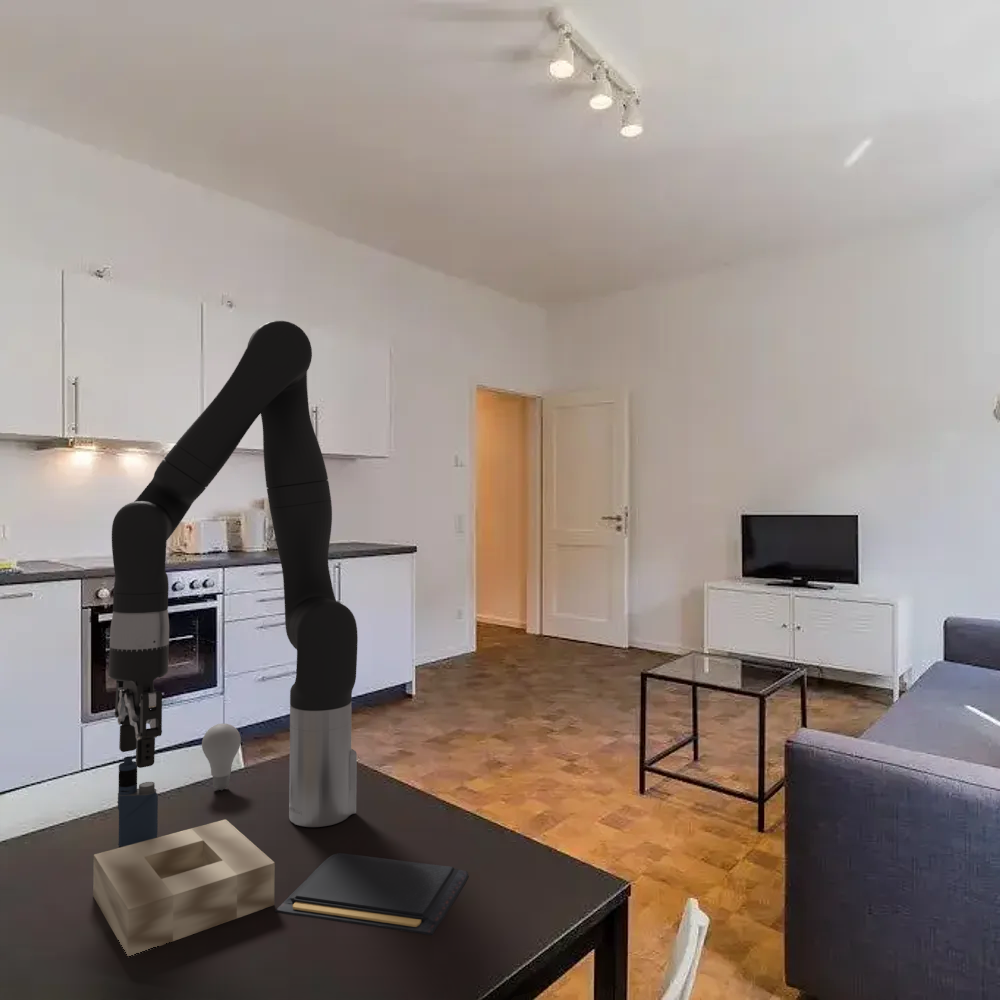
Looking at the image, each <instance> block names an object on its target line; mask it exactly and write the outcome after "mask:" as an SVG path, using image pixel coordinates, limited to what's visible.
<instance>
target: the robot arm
mask: <svg viewBox="0 0 1000 1000" xmlns="http://www.w3.org/2000/svg"><path fill="white" fill-rule="evenodd" d="M311 345H312V344H311V340H310V339H309V336H308V335H307V334H306V332H305V331H304V330H303V328H301V327H300V326H299V325H297V324H295V323H292V322H289V321H286V320H273V321H269V322H267V323H263V324H262V325H260V326H258V328H256V329H255V330H254V331H253V333H252V334H251V336H250V338H249V340H248V342H247V345H246V348H245V350H244V353H243V354H242V356H241V358H240V360H239V361H238V363H237V365H236V366H235V368H234V370H233V372H232V374H231V375H230V377H229V378H228V380H227V381H226V382H225V384H224V385H223V387H222V388H221V389H220V391H219V392H218V393H217V395H216V396H215V397H214V398H213V400H212V401H211V402H210V403H209V405H208V406H207V407H206V408H205V409H204V410H203V412H202V413H200V415H199V416H198V417H197V419H195V421H194V422H193V423H191V425H190V426H189V428H187V430H186V431H185V432H184V434H182V436H181V437H179V439H178V440H177V442H176V443H175V444H174V445H173V446H172V448H171V449H170V450H169V451H168V453H167V454H166V455H165V457H164V458H163V459H162V460H161V462H160V463H159V464H158V466H157V467H156V469H155V471H154V474H153V478H152V479H151V481H149V482H148V485H147V486H145V487H144V489H143V491H142V492H141V493H140V494H139V496H137V498H136V499H135V500H134V501H132V502H129V503H127V504H125V505H123V506H122V507H121V508H120V509H118V511H117V513H116V514H115V516H114V518H113V521H112V526H111V553H112V563H113V568H114V585H113V593H112V594H113V597H112V598H113V600H112V617H111V622H110V632H109V635H110V636H109V658H108V661H109V662H108V665H109V666H108V676H109V678H110V679H112V680H114V681H115V683H116V685H115V703H114V705H115V707H114V716H115V718H117V723H118V725H119V744H118V745H119V751H121V752H122V753H125V752H133V751H135V762H136V766H137V769H142V768H146V767H152V766H153V765H154V764H155V754H156V753H155V751H156V750H155V749H156V748H155V747H156V738H157V737H161V736H162V734H163V729H162V727H163V725H162V722H163V718H162V717H163V693H162V690H158V691H157V689H155V686H154V685H155V684H154V681H155V680H156V679H158V678H161V677H164V676H165V675H167V674H168V672H169V654H170V653H169V649H170V646H169V644H170V618H169V610H168V609H169V587H170V586H169V577H168V574H167V571H166V563H167V561H166V559H167V558H166V557H167V541H168V539H169V538H171V535H172V534H173V533H174V532H175V530H176V529H177V528H178V526H179V525H180V524H181V522H182V520H183V519H184V517H185V516H186V514H187V513H188V511H189V510H190V508H191V506H192V505H193V504H194V502H195V501H196V500H197V499H198V498H199V497H200V496H201V495H202V494H203V493H204V492H205V490H206V489H207V487H209V485H210V484H211V483H212V481H213V480H214V479H215V478H216V476H217V475H218V473H220V471H221V470H222V468H223V467H224V466H225V464H226V463H227V462H228V460H229V459H230V457H231V456H232V455H233V453H234V452H235V450H236V448H237V447H238V445H239V444H240V443H241V441H242V439H243V438H244V437H245V435H246V434H247V433H248V431H249V429H250V428H251V426H253V424H254V422H255V421H256V420H257V418H258V417H259V416H261V423H262V424H261V425H262V443H263V444H262V445H263V447H262V449H263V450H262V451H263V466H264V476H265V487H266V492H267V493H266V494H267V498H268V505H269V512H270V517H271V521H272V522H271V523H272V526H273V534H274V537H275V543H276V548H277V552H278V555H279V561H280V565H281V571H282V572H281V573H282V577H283V578H282V579H283V580H282V582H283V596H284V597H283V598H284V624H285V633H286V636H287V639H288V640H289V642H290V644H291V645H292V646H293V649H295V650H296V672H295V676H296V677H295V681H294V683H293V684H292V685H291V688H290V690H289V693H290V694H289V781H288V782H289V788H288V790H289V792H288V793H289V794H288V795H289V796H288V797H289V798H288V799H289V800H288V808H289V809H288V811H289V812H288V818H289V821H290V822H291V823H292V824H294V825H295V826H296V825H297V826H300V827H306V828H320V827H321V828H322V827H327V826H328V827H329V826H332V825H336V824H339V823H342V822H344V821H345V820H347V819H348V818H349V817H350V816H351V815H354V814H356V813H357V767H358V766H357V763H358V762H357V755H358V754H357V751H356V750H355V749H352V703H353V702H352V698H353V695H352V693H353V689H354V686H355V683H356V678H357V662H358V626H357V621H356V617H355V616H354V613H353V611H352V610H351V609H350V608H348V607H347V606H346V605H344V604H343V603H342V602H339V601H337V599H336V596H335V593H334V588H333V584H332V579H331V573H330V567H329V565H330V564H329V552H330V551H329V550H330V540H331V535H332V533H331V532H332V524H333V523H332V522H333V507H332V505H333V504H332V497H331V490H330V482H329V476H328V472H327V468H326V465H325V460H324V457H323V453H322V450H321V446H320V444H319V441H318V438H317V436H316V435H317V434H316V433H315V429H314V426H313V424H312V420H311V415H310V408H309V405H310V404H309V395H308V370H309V369H310V366H311V363H312V357H313V349H312V346H311ZM147 724H148V725H149V727H150V728H149V727H148V728H147Z"/></svg>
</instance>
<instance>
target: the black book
mask: <svg viewBox="0 0 1000 1000" xmlns="http://www.w3.org/2000/svg"><path fill="white" fill-rule="evenodd" d="M468 878H469V873H468V871H467V870H462V869H457V868H456V869H455V868H454V867H453V866H448V865H439V864H432V863H424V862H417V861H415V862H414V861H406V860H400V859H393V858H383V857H382V858H381V857H374V856H367V855H360V854H359V855H358V854H352V853H342V852H337V853H334V854H332V855H330V856H328V857H327V858H326V859H325V860H323V862H322V863H321V864H319V866H317V868H316V869H315V870H314V871H313V872H312V873H311V874H310V875H309V876H307V878H306V879H305V880H304V881H303V882H302V883H301V884H300V885H299V886H298V887H297V888H296V889H295V890H294V891H293V892H292V893H291V894H290V895H289V896H288V897H287V898H286V899H285V900H284V901H283V902H282V903H281V904H280V905H279V906H278V907H277V908H276V909H275V910H274V913H279V914H284V915H290V916H298V917H304V918H305V917H307V918H314V919H320V920H326V921H327V920H328V921H333V922H340V923H341V922H342V923H347V924H354V925H361V926H367V927H374V928H381V929H389V930H394V931H400V932H401V931H402V932H409V933H413V934H420V935H427V936H433V935H434V933H435V931H436V930H437V928H438V927H439V925H440V924H441V923H442V921H443V920H444V919H445V918H446V916H447V914H448V912H449V910H450V909H451V907H452V906H453V904H454V902H455V900H456V899H457V897H458V896H459V894H460V892H461V891H462V890H463V888H464V885H465V884H466V882H467V880H468Z"/></svg>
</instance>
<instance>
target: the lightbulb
mask: <svg viewBox="0 0 1000 1000" xmlns="http://www.w3.org/2000/svg"><path fill="white" fill-rule="evenodd" d="M241 743H242V738H241V734H240V732H239V731H238V729H237V728H236V727H235V726H234V725H231V724H229V723H218V724H214V725H212V726H211V727H210V728H209V729H208V730H207V731H206V732H205V733H204V735H203V738H202V741H201V748H202V751H203V754H204V756H205V757H206V759H207V761H208V763H209V767H210V773H211V774H210V775H211V776H212V787H213V788H214V789H216V790H217V791H219V790H221V791H223V789H224V790H225V789H226V788H228V787H229V785H230V774H232V767H233V762H234V759H235V757H236V756H237V753H238V752H239V750H240V747H241Z"/></svg>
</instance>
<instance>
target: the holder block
mask: <svg viewBox="0 0 1000 1000" xmlns="http://www.w3.org/2000/svg"><path fill="white" fill-rule="evenodd" d="M275 865H276V864H275V861H274V860H272V859H271V858H270V857H269V856H268V855H267V854H266V853H264V851H262V850H261V849H260V848H259V847H257V845H256V844H254V843H253V842H252V841H251V840H250V839H249V838H247V836H245V835H244V834H243V833H242V832H241V831H239V830H238V829H237V828H236V827H235V826H234V825H233V824H232V823H231V822H229V821H228V820H227V819H222V820H218V821H214V822H210V823H207V824H204V825H199V826H195V827H192V828H188V829H184V830H181V831H177V832H173V833H170V834H165V835H162V836H157V837H156V838H154V839H150V840H146V841H143V842H139V843H135V844H132V845H128V846H119V847H117V848H112V849H109V850H106V851H102V852H98V853H95V854H93V881H92V882H93V883H92V884H93V886H92V887H93V890H92V896H93V898H94V900H95V902H96V904H97V905H98V907H99V909H100V911H101V912H102V914H103V916H104V917H105V920H106V922H107V923H108V925H109V927H110V928H111V930H112V932H113V933H114V935H115V937H116V939H117V941H118V940H119V941H118V943H119V942H120V943H119V944H120V946H121V945H122V946H121V948H122V947H123V948H122V950H123V949H124V950H125V951H124V950H123V951H124V953H125V952H126V953H125V955H126V954H127V955H126V956H131V955H133V956H135V955H134V954H136V953H139V954H141V953H140V952H142V951H145V950H147V951H149V950H148V949H150V948H153V947H156V948H158V947H157V946H159V947H161V946H165V945H167V944H170V943H171V942H172V943H173V942H175V941H177V940H180V939H183V938H186V937H189V936H191V935H193V934H197V933H201V932H202V931H207V930H209V929H211V928H214V927H217V926H220V925H222V924H225V923H228V922H231V921H234V920H237V919H239V918H242V917H245V916H247V915H250V914H253V913H256V912H259V911H261V910H264V909H266V908H269V907H273V906H275V872H276V871H275V870H276V869H275V868H276V866H275ZM169 942H170V943H169ZM166 943H167V944H166ZM153 949H154V948H153ZM150 950H151V949H150ZM145 952H146V951H145ZM142 953H143V952H142ZM136 955H137V954H136ZM131 957H132V956H131Z"/></svg>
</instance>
